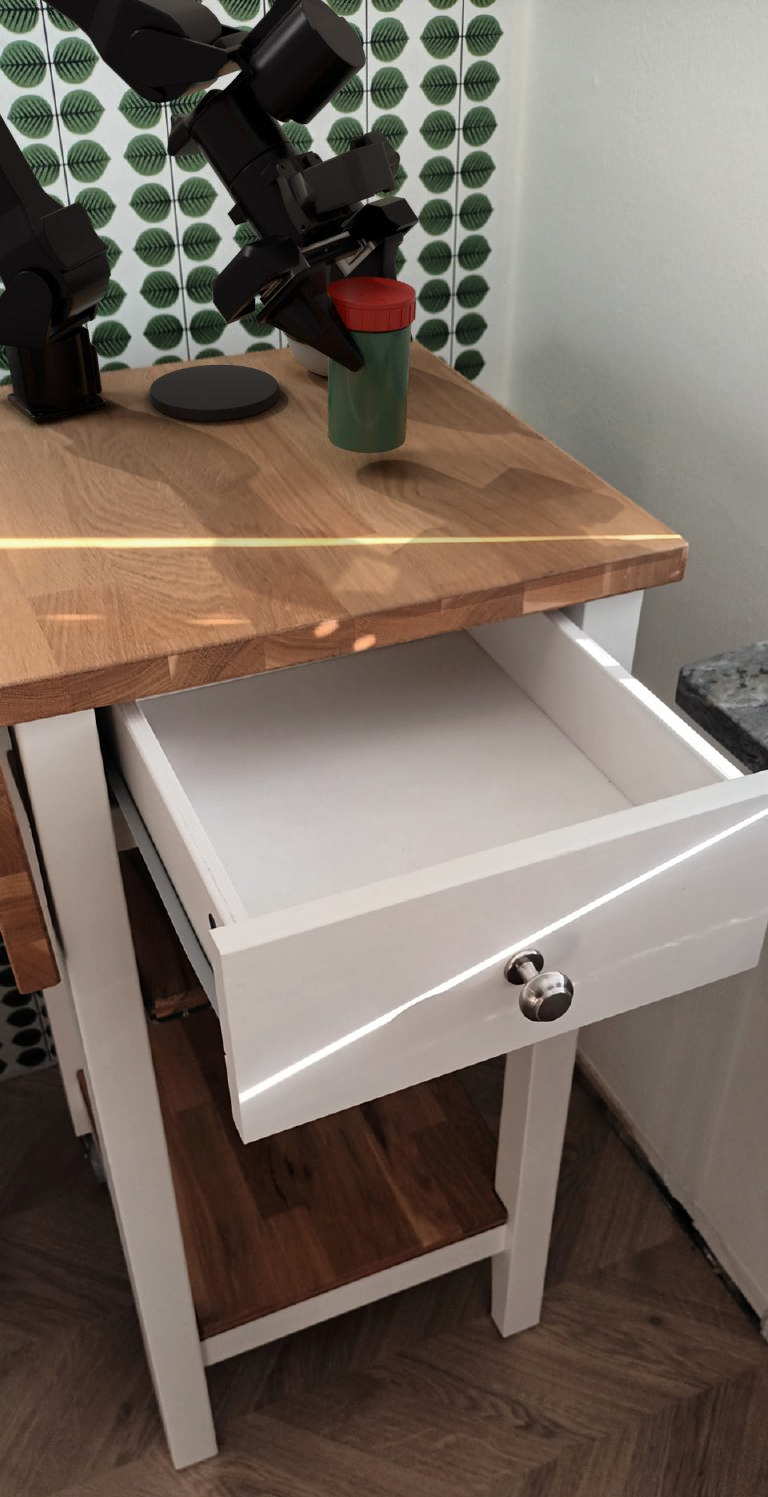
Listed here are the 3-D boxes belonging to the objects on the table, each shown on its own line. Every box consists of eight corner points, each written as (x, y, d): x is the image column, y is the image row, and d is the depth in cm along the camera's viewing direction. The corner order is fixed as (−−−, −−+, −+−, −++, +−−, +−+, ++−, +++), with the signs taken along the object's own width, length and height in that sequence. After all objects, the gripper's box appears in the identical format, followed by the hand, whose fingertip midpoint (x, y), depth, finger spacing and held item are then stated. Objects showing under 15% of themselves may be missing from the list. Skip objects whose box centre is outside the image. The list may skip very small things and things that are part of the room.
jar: (355, 459, 92) (358, 315, 86) (312, 431, 96) (312, 291, 90) (421, 443, 95) (429, 302, 89) (377, 416, 99) (381, 280, 93)
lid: (357, 337, 86) (358, 310, 85) (307, 311, 91) (307, 284, 89) (433, 323, 89) (434, 296, 88) (381, 297, 94) (382, 271, 93)
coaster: (188, 431, 102) (187, 419, 101) (129, 391, 109) (128, 380, 109) (302, 403, 107) (302, 392, 106) (239, 367, 114) (238, 356, 114)
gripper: (238, 111, 77) (381, 328, 79) (402, 75, 90) (521, 263, 92) (152, 223, 85) (283, 417, 87) (313, 175, 98) (425, 346, 100)
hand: (384, 356), depth 91 cm, fingers closed on jar, lid, 6 cm apart
